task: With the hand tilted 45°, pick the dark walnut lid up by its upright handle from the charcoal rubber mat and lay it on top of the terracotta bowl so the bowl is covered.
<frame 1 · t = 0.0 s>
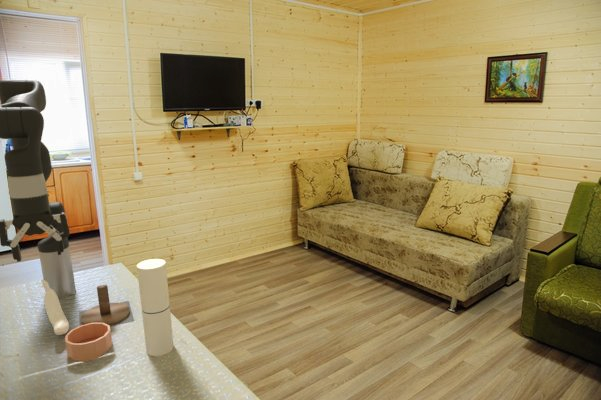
hand: (39, 257, 103), 29 cm above the table, tool pointing down, fingers open, 8 cm apart
banana: (59, 331, 125), on the table
rubber mat: (106, 317, 132), on the table
terracotta bowl: (90, 349, 115), on the table
cylindrical container: (160, 349, 115), on the table
walnut lid: (106, 315, 132), resting on rubber mat
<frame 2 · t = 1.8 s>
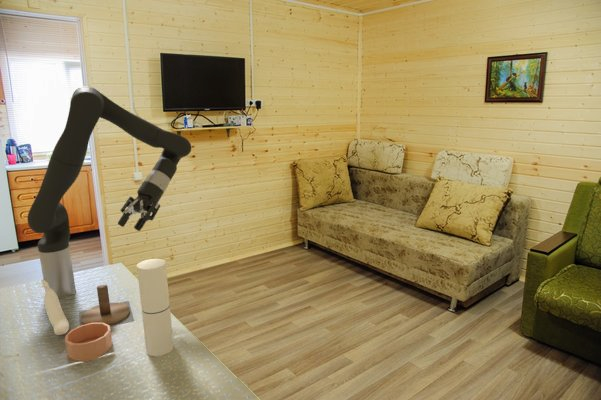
hand: (128, 227, 135), 27 cm above the table, tool tilted 45°, fingers open, 8 cm apart
nothing on the table moved.
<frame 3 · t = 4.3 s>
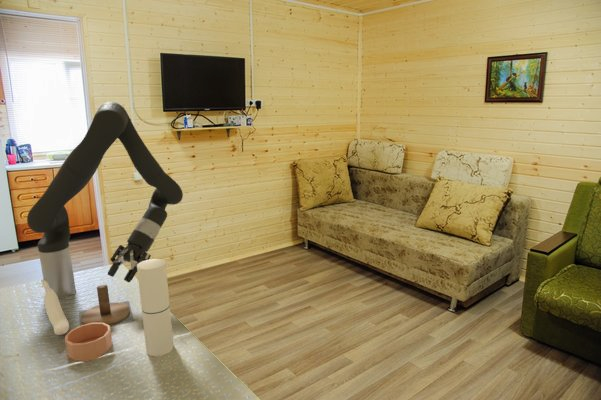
hand: (118, 278, 134), 11 cm above the table, tool tilted 45°, fingers open, 8 cm apart
nothing on the table moved.
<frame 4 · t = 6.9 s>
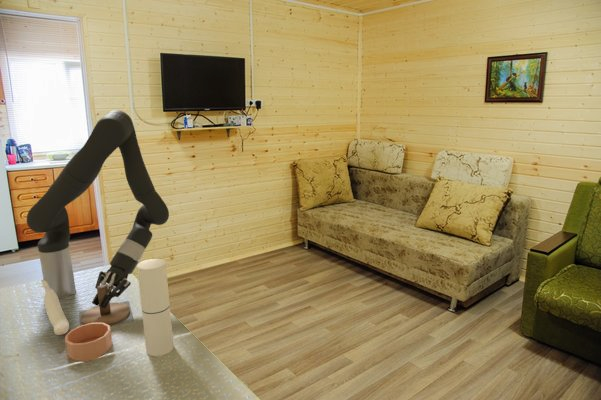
hand: (98, 305, 129), 5 cm above the table, tool tilted 45°, fingers closed on walnut lid, 3 cm apart
walnut lid: (106, 315, 132), resting on rubber mat, touching gripper
everything else where it was.
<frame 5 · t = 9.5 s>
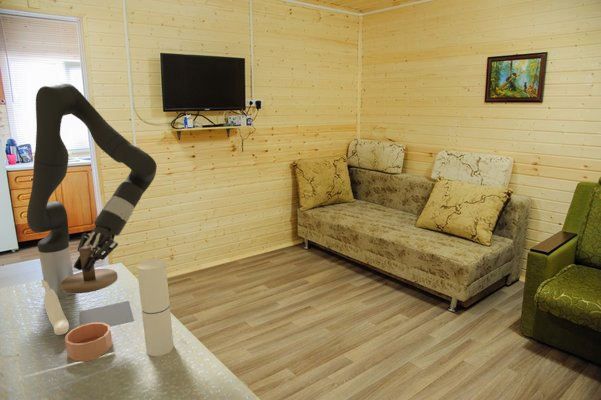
hand: (80, 269, 113), 22 cm above the table, tool tilted 45°, fingers closed on walnut lid, 3 cm apart
walnut lid: (90, 282, 116), point 18 cm above the table, touching gripper
everything else where it was.
when the fingers open (11 cm above the table, at t = 12.3 s): walnut lid drops 1 cm, resting on terracotta bowl.
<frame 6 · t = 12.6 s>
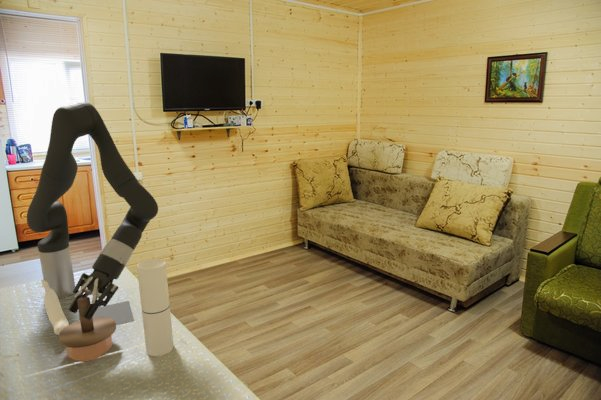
hand: (78, 314, 111), 11 cm above the table, tool tilted 45°, fingers open, 6 cm apart
walnut lid: (88, 332, 114), point 5 cm above the table, touching terracotta bowl
everything else where it was.
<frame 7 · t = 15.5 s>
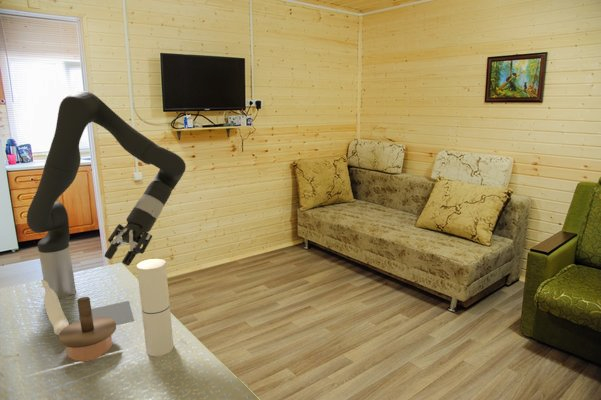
hand: (116, 261, 120), 22 cm above the table, tool tilted 45°, fingers open, 8 cm apart
nothing on the table moved.
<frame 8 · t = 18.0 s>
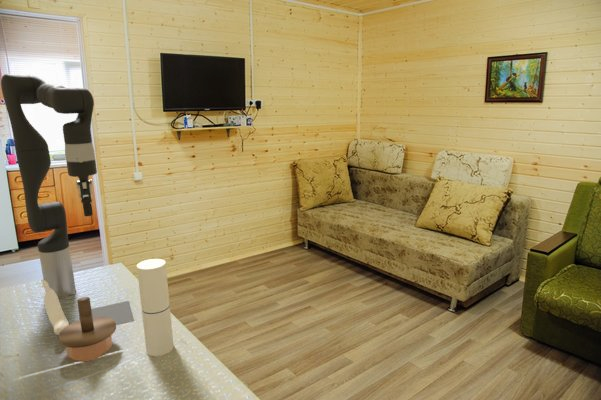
hand: (88, 212, 125), 34 cm above the table, tool pointing down, fingers open, 8 cm apart
nothing on the table moved.
at the end: walnut lid 0.1 cm from the terracotta bowl (horizontally); walnut lid point 5.0 cm above the table; walnut lid tilted 0° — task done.
